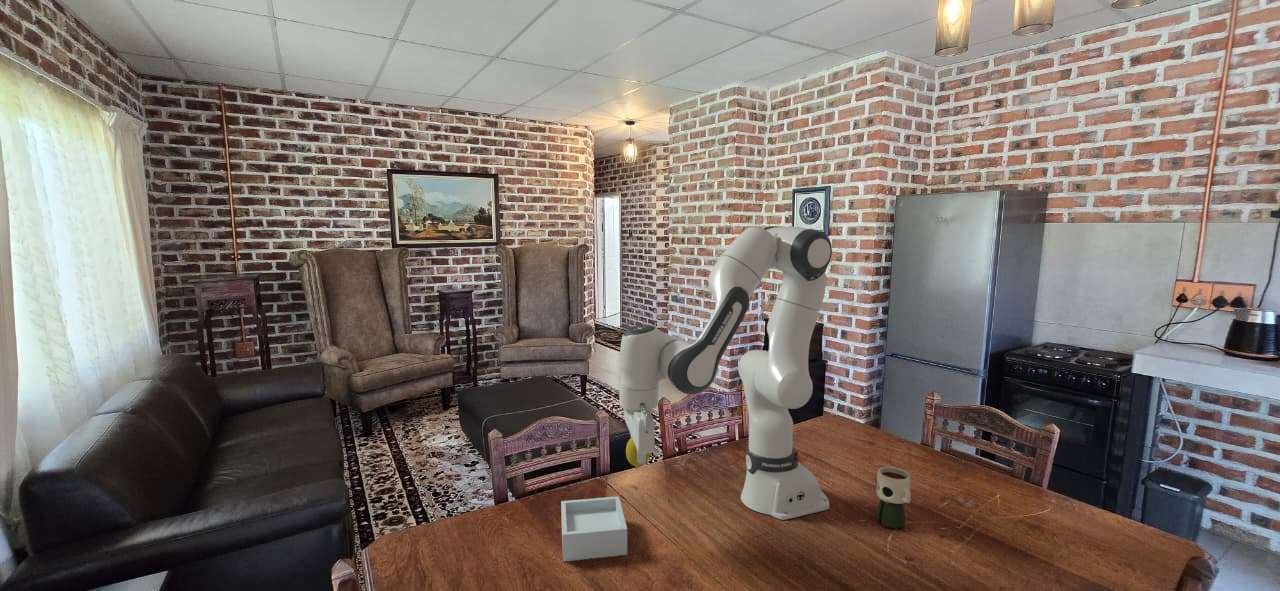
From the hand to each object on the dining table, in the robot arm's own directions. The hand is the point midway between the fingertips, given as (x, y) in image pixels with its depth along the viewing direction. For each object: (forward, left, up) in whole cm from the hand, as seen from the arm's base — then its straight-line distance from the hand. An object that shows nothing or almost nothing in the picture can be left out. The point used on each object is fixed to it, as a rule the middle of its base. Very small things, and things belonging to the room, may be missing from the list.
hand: (638, 455), depth 120 cm
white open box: (+11, 0, -20) cm, 23 cm away
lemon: (0, 0, -3) cm, 3 cm away
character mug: (-61, +6, -20) cm, 65 cm away
